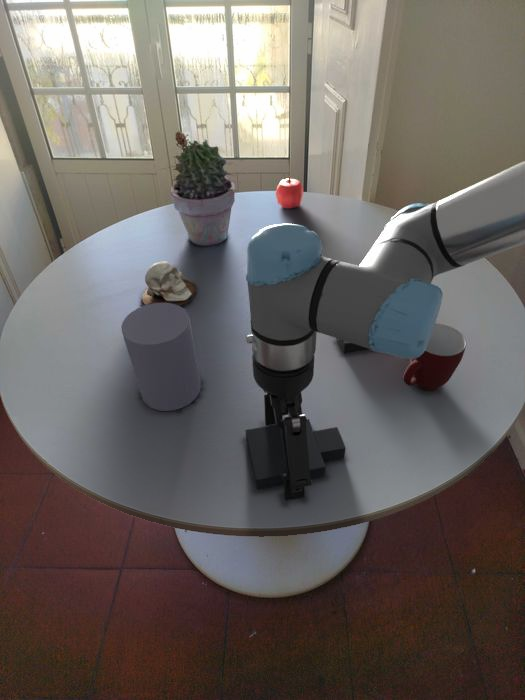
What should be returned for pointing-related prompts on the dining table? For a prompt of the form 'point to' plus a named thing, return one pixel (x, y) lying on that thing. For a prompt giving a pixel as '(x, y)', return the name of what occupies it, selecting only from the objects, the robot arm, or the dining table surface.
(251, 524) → the dining table surface
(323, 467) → the pad
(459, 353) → the mug
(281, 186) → the apple
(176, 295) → the skull
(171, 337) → the container
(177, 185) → the potted plant
